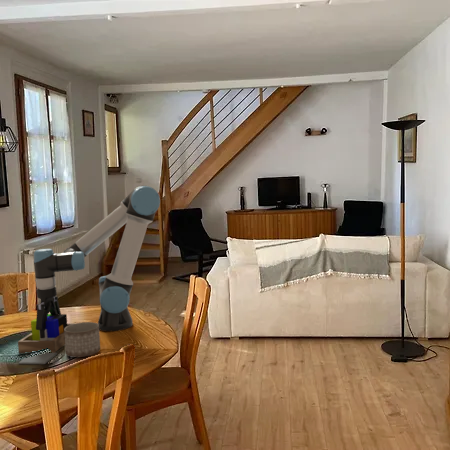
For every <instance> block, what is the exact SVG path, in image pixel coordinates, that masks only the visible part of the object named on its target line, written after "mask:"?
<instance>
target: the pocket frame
mask: <svg viewBox="0 0 450 450" xmlns="http://www.w3.org/2000/svg"><path fill="white" fill-rule="evenodd" d="M72 324H76V322H75V323H71V322H70V323H68V322H67V326H69V325H72ZM64 346H65V335H64V332H63V333H62V334H60V335H59V336H57V337H56V338H55V339H53V340H52V341H33V340H32V332H30V333H29V334H27V335H26V336H24V337H23V338H21V339H20V340H18V341H17V347H18V349H17V350H18V353H19V354H26V353H25V352H32V351H38V350H42V349H46V348H48V349H50V350H51V352H52V353H57V352H58V351H59V350H60V349H62V347H64Z"/></svg>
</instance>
